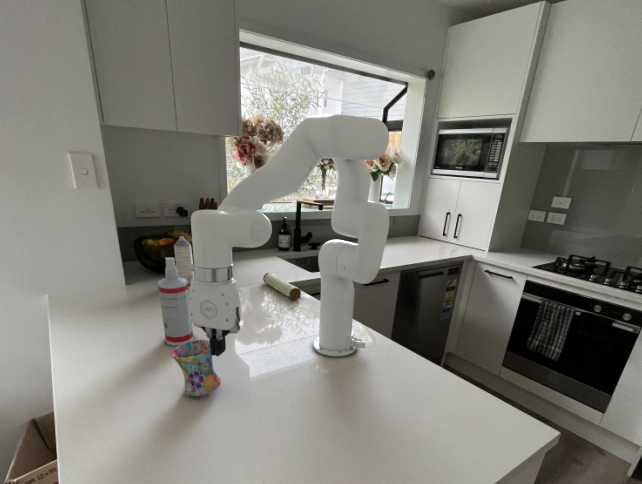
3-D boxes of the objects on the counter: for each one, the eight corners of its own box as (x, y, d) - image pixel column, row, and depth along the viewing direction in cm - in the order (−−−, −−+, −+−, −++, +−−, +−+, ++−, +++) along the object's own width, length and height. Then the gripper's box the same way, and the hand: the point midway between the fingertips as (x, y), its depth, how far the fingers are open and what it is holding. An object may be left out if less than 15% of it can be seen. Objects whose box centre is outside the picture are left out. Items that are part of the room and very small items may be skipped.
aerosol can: (197, 281, 167) (192, 235, 160) (190, 285, 161) (186, 238, 153) (182, 280, 168) (177, 234, 160) (175, 284, 162) (169, 237, 154)
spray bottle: (164, 346, 109) (152, 261, 99) (167, 335, 115) (156, 255, 106) (193, 344, 111) (184, 260, 101) (193, 333, 117) (185, 254, 108)
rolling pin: (259, 282, 170) (259, 271, 168) (271, 280, 172) (270, 269, 170) (293, 304, 145) (293, 291, 143) (306, 302, 148) (306, 289, 146)
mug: (227, 391, 86) (217, 349, 82) (185, 405, 83) (173, 362, 79) (216, 369, 96) (207, 332, 92) (179, 381, 93) (168, 343, 89)
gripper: (170, 272, 75) (178, 354, 82) (238, 282, 72) (240, 367, 79) (192, 265, 82) (198, 341, 89) (255, 273, 78) (256, 352, 85)
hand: (218, 353), depth 84 cm, fingers closed
